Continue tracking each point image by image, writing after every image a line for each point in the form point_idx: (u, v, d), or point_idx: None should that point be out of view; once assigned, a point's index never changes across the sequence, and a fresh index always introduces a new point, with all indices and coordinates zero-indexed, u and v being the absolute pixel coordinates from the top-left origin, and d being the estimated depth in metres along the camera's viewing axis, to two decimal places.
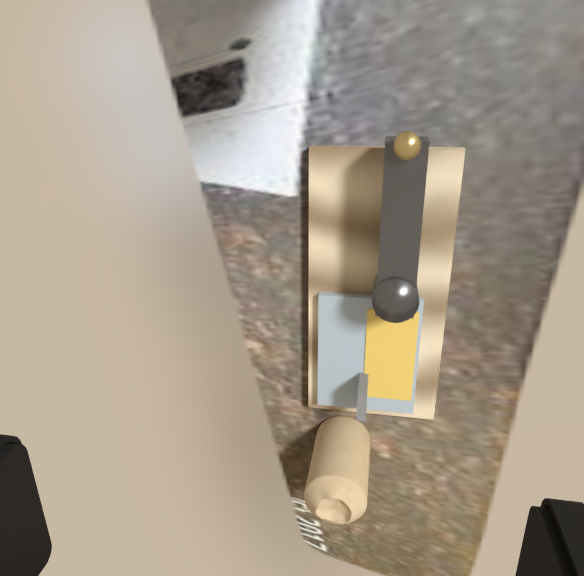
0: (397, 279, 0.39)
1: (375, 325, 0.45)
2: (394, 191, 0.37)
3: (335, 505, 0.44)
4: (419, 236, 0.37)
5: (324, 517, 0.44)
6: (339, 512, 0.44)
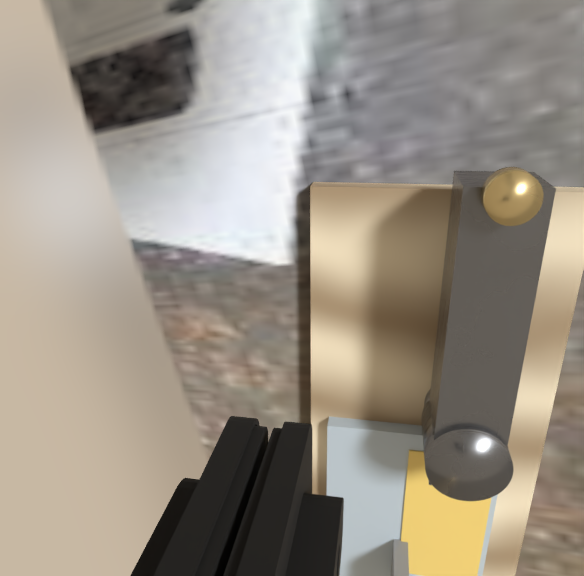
0: (473, 431, 0.21)
1: (420, 474, 0.27)
2: (476, 280, 0.19)
3: None
4: (520, 361, 0.20)
5: None
6: None
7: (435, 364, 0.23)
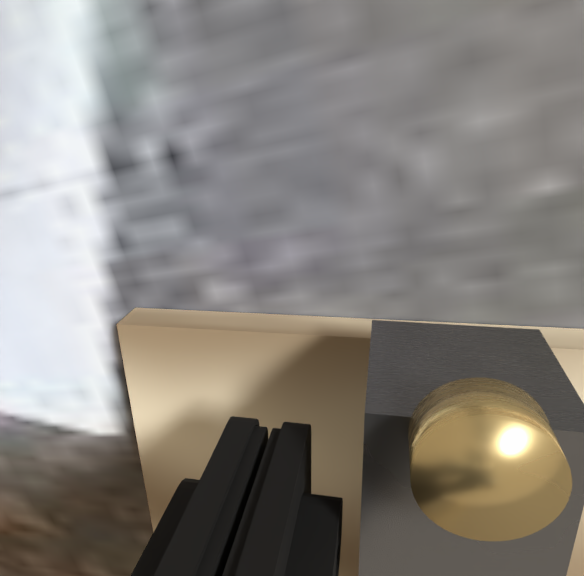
0: None
1: None
2: None
3: None
4: None
5: None
6: None
7: None
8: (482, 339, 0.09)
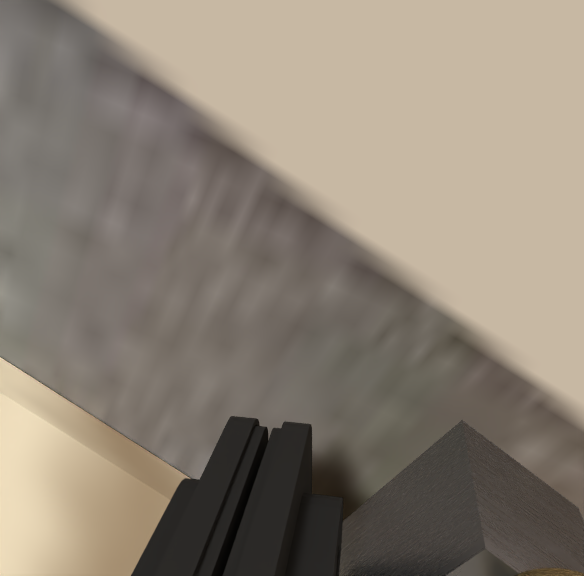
0: None
1: None
2: None
3: None
4: None
5: None
6: None
7: None
8: (545, 497, 0.10)
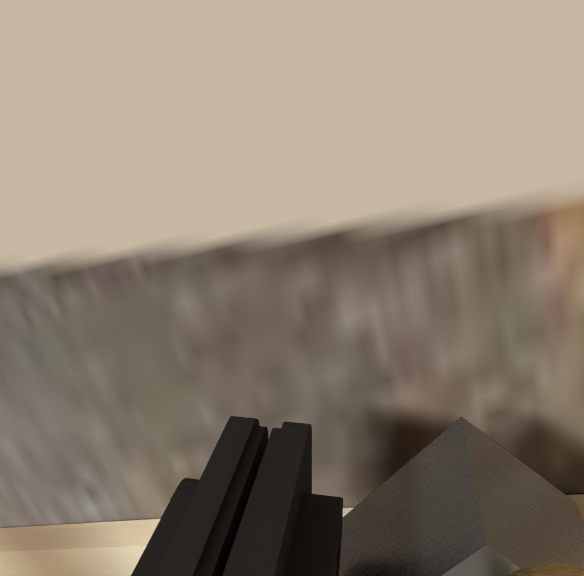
0: None
1: None
2: None
3: None
4: None
5: None
6: None
7: None
8: (543, 492, 0.10)
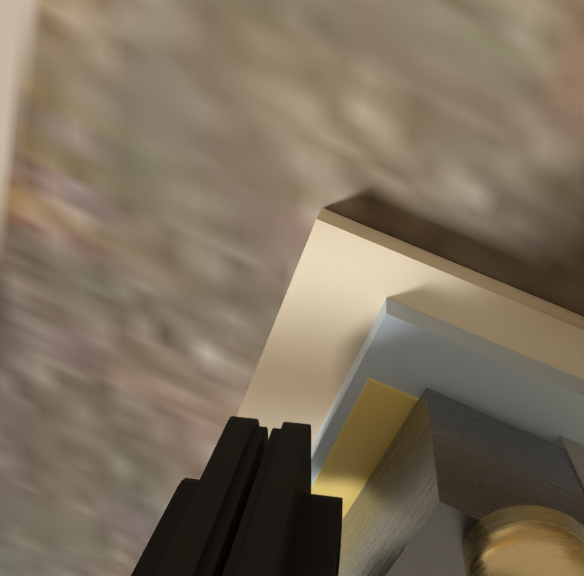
0: None
1: None
2: None
3: None
4: None
5: None
6: None
7: None
8: (522, 445, 0.10)
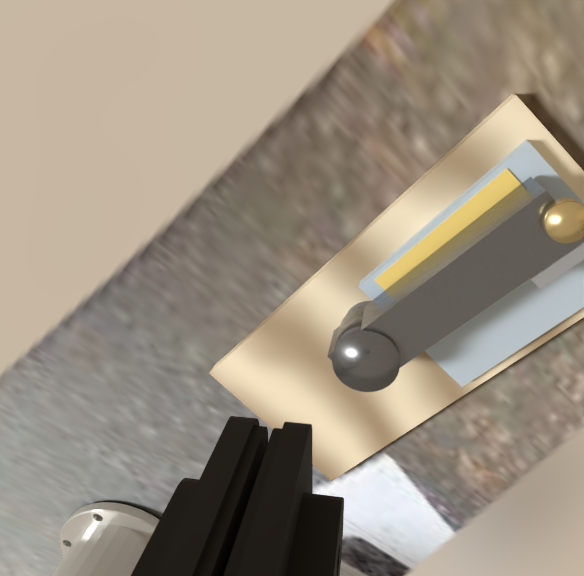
0: (391, 343, 0.27)
1: None
2: (491, 253, 0.24)
3: None
4: (462, 322, 0.26)
5: None
6: None
7: (397, 286, 0.28)
8: None
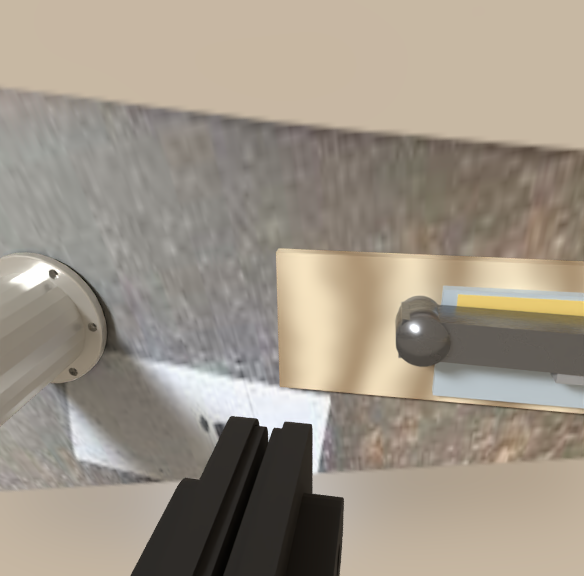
0: (450, 345, 0.34)
1: None
2: (557, 344, 0.33)
3: None
4: (499, 366, 0.34)
5: None
6: None
7: (473, 311, 0.36)
8: None
